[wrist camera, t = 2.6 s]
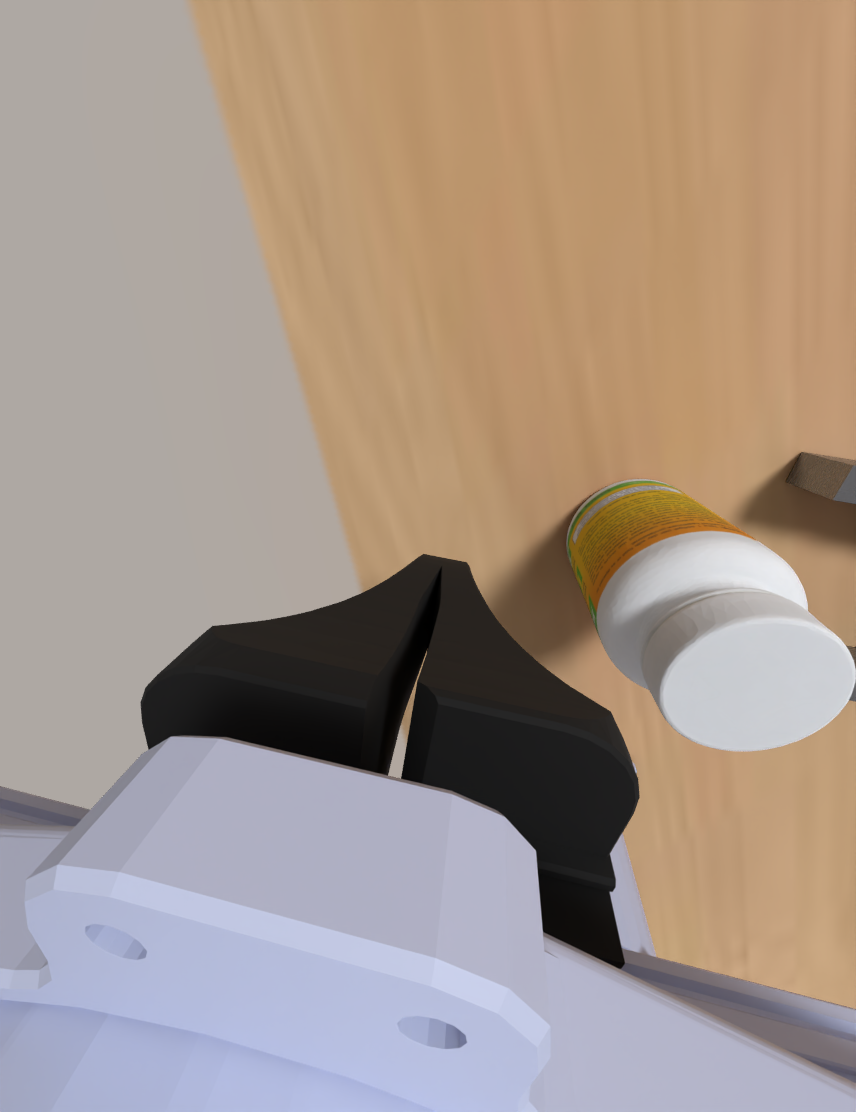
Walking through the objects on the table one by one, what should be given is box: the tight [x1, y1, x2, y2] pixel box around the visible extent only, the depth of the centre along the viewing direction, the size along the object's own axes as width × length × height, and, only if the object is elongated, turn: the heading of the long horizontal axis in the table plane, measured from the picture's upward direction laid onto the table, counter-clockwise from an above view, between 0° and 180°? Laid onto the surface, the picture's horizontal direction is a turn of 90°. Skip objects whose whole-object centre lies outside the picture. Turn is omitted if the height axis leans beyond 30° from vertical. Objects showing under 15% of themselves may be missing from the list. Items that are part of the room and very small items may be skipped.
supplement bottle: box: [566, 479, 856, 751], centre depth 14 cm, size 5×5×10 cm
